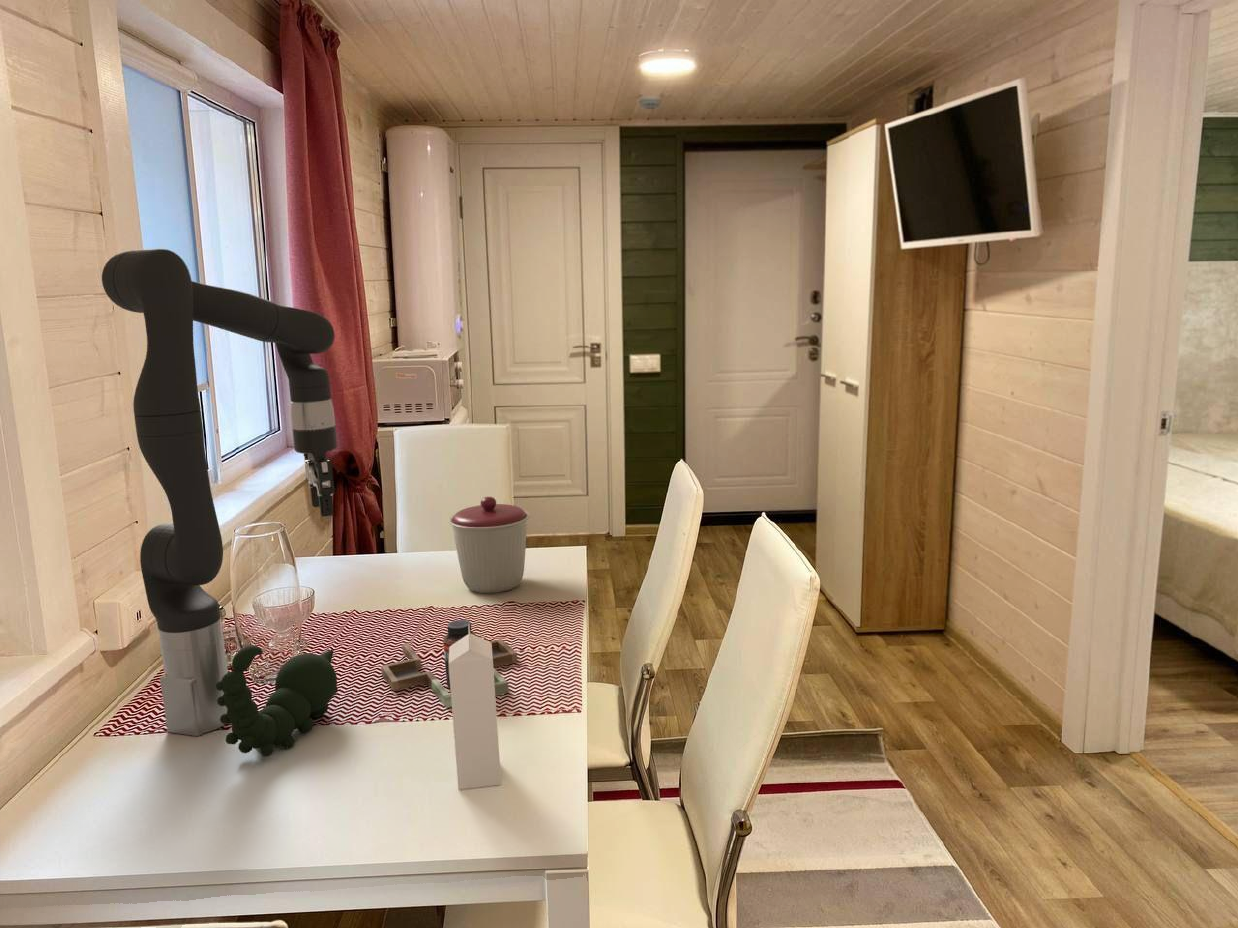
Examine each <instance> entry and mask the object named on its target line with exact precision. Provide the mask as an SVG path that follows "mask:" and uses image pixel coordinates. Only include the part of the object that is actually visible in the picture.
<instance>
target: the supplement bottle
mask: <svg viewBox="0 0 1238 928" xmlns="http://www.w3.org/2000/svg"><path fill="white" fill-rule="evenodd" d="M468 624H469V626H470V634H473V635H475V636H477V634H476V633H475V632H473V631H472V623H471V621H470V620H468V619H457V620H452V621H450V622H448V623H447V625H446V626H447V634H446V635H445V636H444V637H443V640H442V641H443V657H444V666H445V669H444V670H445V678H446V679H445V680H446V686H447V687H448V688H449V689H450V677H449V647H450V646H451V645H453V644H454V643H456V642H457V641H459V640H460V639H462V638H463V637H465V636H466V635H468V634H469V626H468ZM477 637H478V636H477Z"/></svg>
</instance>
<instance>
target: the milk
mask: <svg viewBox="0 0 1238 928" xmlns="http://www.w3.org/2000/svg"><path fill="white" fill-rule="evenodd" d="M468 626H469V624H468ZM449 677H450V688H449V689H450V690H449V691H450V694H451V702H452V707H451V712H452V713H451V715H452V725H453V736H454V737H453V739H454V750H455V764H456V775H457V776H456V777H457V787H458V791H459V790H467V789H468V790H469V789H477V788H486V787H494V786H500V785H502V778H501V777H502V775H501V774H502V773H501V761H500V760H501V757H500V747H499V733H498V732H499V731H498V717H497V702H496V696H495V685H494V670H493V656H492V643H491V642H489V641H488V640H487V639H484V638H482V637H479V636H475V635H473V634H470V626H469V634H468V635H466V636H465V637H463V638H462V639H460V640H459V641H457V642H456V643H454V644H453V645H451V646H450V647H449Z"/></svg>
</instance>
